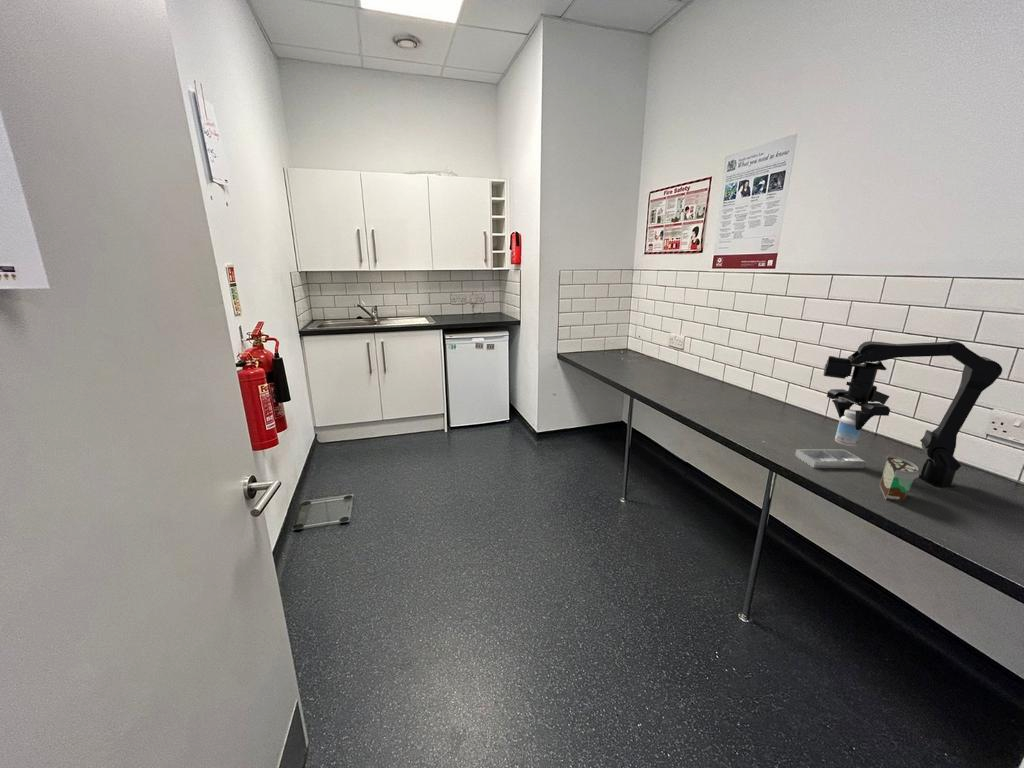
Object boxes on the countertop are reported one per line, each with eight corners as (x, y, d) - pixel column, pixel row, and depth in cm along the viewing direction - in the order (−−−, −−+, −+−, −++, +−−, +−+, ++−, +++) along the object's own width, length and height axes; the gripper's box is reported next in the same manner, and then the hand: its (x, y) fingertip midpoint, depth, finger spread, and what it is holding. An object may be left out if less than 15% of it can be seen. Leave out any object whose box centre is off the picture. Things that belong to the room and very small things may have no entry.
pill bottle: (861, 447, 136) (870, 415, 133) (840, 445, 137) (848, 414, 134) (850, 440, 142) (859, 409, 138) (830, 438, 143) (838, 407, 140)
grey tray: (863, 468, 137) (865, 461, 136) (813, 468, 136) (815, 461, 136) (842, 455, 146) (844, 449, 145) (795, 455, 145) (796, 449, 144)
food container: (915, 509, 114) (926, 476, 112) (886, 502, 118) (896, 470, 115) (905, 489, 124) (914, 459, 122) (878, 483, 128) (887, 454, 125)
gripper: (914, 390, 124) (899, 438, 129) (863, 373, 142) (851, 416, 147) (877, 389, 124) (864, 437, 129) (831, 373, 142) (820, 415, 147)
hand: (850, 426), depth 138 cm, fingers closed on pill bottle, 6 cm apart
